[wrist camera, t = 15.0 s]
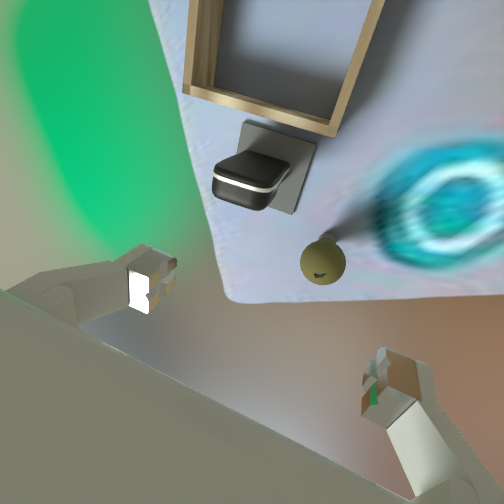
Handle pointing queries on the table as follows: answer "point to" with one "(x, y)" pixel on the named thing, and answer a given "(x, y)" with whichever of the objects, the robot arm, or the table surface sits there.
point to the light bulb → (323, 261)
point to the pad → (282, 149)
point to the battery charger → (249, 179)
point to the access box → (201, 85)
